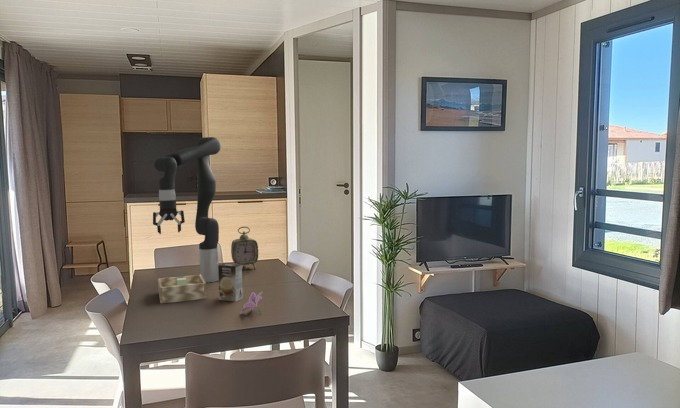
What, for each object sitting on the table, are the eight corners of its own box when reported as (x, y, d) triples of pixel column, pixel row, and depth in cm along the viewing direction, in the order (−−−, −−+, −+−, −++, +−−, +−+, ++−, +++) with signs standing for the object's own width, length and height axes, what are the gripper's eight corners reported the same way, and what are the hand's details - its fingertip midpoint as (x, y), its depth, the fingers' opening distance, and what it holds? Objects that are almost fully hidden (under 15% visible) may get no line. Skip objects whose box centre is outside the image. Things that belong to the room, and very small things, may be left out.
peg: (186, 294, 241) (185, 277, 240) (186, 296, 237) (186, 279, 237) (177, 295, 240) (176, 278, 239) (177, 297, 236) (177, 280, 235)
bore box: (201, 288, 251) (200, 274, 251) (206, 298, 233) (206, 283, 232) (158, 293, 244) (157, 278, 243) (160, 303, 225) (159, 287, 225)
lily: (267, 310, 216) (256, 290, 216) (276, 306, 206) (265, 285, 207) (243, 324, 209) (232, 304, 210) (251, 320, 199) (240, 299, 200)
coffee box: (218, 300, 230) (217, 265, 228) (226, 296, 236) (224, 262, 234) (236, 301, 226) (235, 266, 225) (243, 298, 233) (242, 263, 231)
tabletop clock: (233, 271, 290) (232, 228, 288) (231, 268, 298) (229, 226, 296) (258, 269, 295) (257, 226, 293) (255, 266, 303) (254, 225, 301)
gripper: (182, 197, 247) (184, 230, 249) (151, 199, 242) (153, 233, 243) (184, 198, 241) (185, 232, 242) (152, 200, 235) (154, 235, 237)
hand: (169, 232), depth 243 cm, fingers open, 8 cm apart
